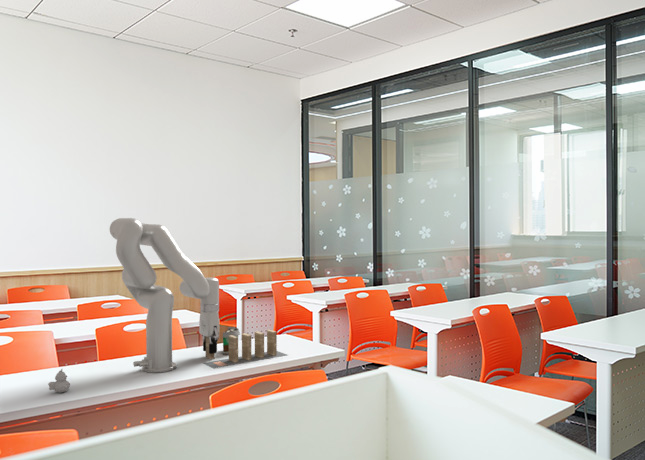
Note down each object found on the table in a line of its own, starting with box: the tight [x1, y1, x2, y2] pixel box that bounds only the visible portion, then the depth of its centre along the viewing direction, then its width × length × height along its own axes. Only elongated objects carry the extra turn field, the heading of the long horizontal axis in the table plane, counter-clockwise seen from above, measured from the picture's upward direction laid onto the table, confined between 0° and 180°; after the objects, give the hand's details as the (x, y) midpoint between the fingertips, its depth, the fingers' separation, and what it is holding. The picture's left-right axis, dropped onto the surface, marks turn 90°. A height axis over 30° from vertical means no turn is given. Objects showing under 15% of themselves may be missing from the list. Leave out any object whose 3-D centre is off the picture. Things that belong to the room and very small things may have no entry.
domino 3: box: [241, 332, 252, 360], centre depth 223 cm, size 2×5×10 cm, turn 37°
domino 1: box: [205, 335, 216, 360], centre depth 225 cm, size 2×5×10 cm, turn 37°
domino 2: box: [228, 335, 239, 363], centre depth 219 cm, size 2×5×10 cm, turn 37°
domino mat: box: [202, 350, 288, 369], centre depth 223 cm, size 34×10×1 cm, turn 127°
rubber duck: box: [47, 368, 71, 394], centre depth 181 cm, size 5×7×8 cm
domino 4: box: [254, 331, 265, 358], centre depth 226 cm, size 2×5×10 cm, turn 37°
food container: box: [222, 326, 241, 356], centre depth 235 cm, size 12×6×10 cm, turn 179°
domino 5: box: [266, 329, 278, 356], centre depth 230 cm, size 2×5×10 cm, turn 37°
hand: (210, 351), depth 225 cm, fingers closed on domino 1, 4 cm apart
